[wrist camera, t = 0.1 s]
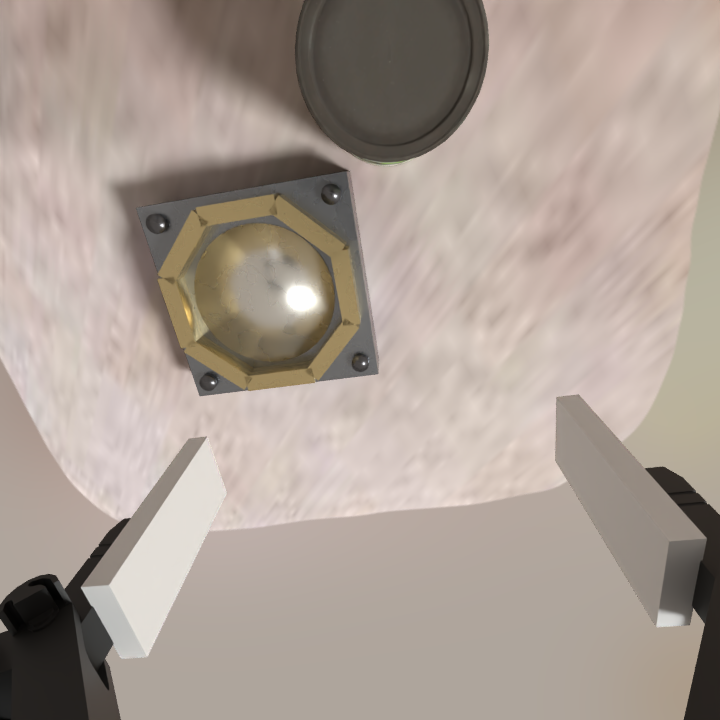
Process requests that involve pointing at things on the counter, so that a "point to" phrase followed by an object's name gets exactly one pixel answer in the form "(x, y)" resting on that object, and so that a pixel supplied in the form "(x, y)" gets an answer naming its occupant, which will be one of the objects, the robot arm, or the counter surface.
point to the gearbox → (266, 284)
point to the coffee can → (391, 72)
